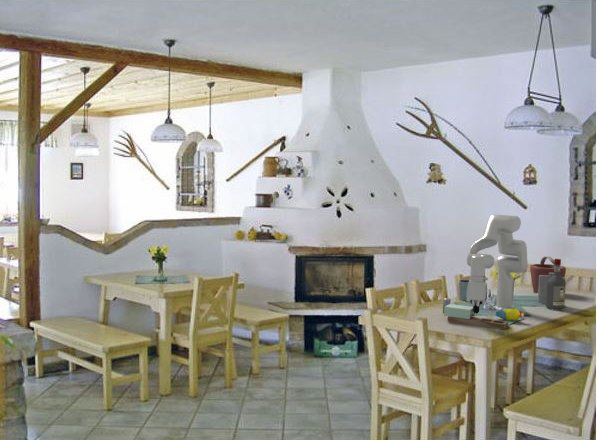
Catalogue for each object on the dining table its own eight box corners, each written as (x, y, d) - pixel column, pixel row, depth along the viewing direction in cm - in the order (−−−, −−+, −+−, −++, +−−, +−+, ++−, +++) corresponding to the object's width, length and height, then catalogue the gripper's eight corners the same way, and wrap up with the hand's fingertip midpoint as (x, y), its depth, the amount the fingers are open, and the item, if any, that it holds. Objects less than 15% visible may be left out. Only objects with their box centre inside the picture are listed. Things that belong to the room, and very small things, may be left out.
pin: (444, 312, 392) (444, 298, 391) (450, 312, 390) (451, 299, 389) (441, 313, 389) (442, 299, 388) (448, 314, 386) (449, 300, 386)
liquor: (543, 307, 412) (546, 258, 410) (555, 306, 416) (557, 258, 414) (555, 310, 404) (557, 260, 402) (566, 309, 408) (569, 259, 406)
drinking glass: (468, 297, 439) (469, 279, 439) (477, 300, 430) (478, 281, 429) (454, 298, 436) (455, 279, 436) (463, 301, 427) (464, 282, 426)
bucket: (566, 297, 450) (568, 259, 448) (530, 295, 455) (532, 258, 453) (560, 291, 474) (562, 255, 472) (527, 289, 479) (529, 253, 477)
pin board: (452, 318, 374) (453, 310, 374) (508, 326, 359) (508, 318, 359) (447, 321, 367) (447, 313, 366) (503, 329, 351) (504, 321, 351)
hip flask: (564, 306, 419) (566, 273, 418) (562, 307, 416) (564, 274, 415) (538, 302, 430) (540, 270, 428) (536, 303, 426) (538, 271, 425)
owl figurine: (513, 311, 356) (486, 308, 366) (513, 328, 357) (485, 324, 366) (533, 304, 378) (506, 301, 387) (533, 320, 378) (506, 316, 388)
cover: (449, 313, 375) (449, 304, 375) (474, 316, 368) (475, 307, 368) (443, 315, 368) (444, 306, 367) (469, 319, 360) (470, 309, 360)
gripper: (493, 279, 361) (492, 313, 362) (465, 276, 369) (464, 310, 370) (489, 281, 355) (488, 316, 356) (461, 278, 362) (460, 312, 364)
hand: (476, 313), depth 363 cm, fingers closed
